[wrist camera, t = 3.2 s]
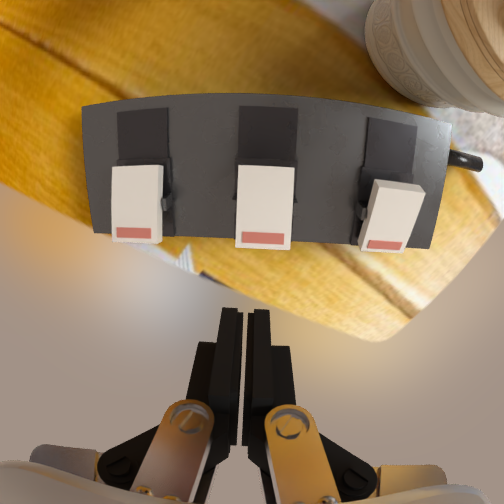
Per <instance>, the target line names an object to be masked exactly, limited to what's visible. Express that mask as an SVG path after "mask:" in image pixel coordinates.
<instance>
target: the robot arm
mask: <svg viewBox="0 0 504 504" xmlns="http://www.w3.org/2000/svg"><path fill="white" fill-rule="evenodd" d="M242 332H243V312H241V313H240V312H238V310H237V308H225V307H223V308H222V313H221V319H220V325H219V331H218V337H217V343H213V342H199V343H198V347H197V351H196V355H195V360H194V364H193V369H192V373H191V377H190V382H189V387H188V391H187V396H186V400H180V401H178V402H175V403H174V404H172V405H171V406H170V407H169V408H168V409H167V411H166V412H165V414H164V417H163V419H162V421H161V423H160V424H159V425H158V426H156V427H154V428H152V429H150V430H148V431H146V432H144V433H142V434H140V435H138V436H136V437H134V438H132V439H130V440H128V441H126V442H124V443H122V444H120V445H118V446H116V447H114V448H112V449H109V450H108V451H106V452H105V453H101V452H97V451H96V450H92V449H80V448H71V447H63V446H56V445H48V444H44V445H40V446H37V447H36V448H35V449H34V450H33V451H32V453H31V456H30V460H29V462H28V461H20V460H17V461H16V460H15V461H14V460H10V461H2V462H0V504H207V503H208V500H209V497H210V493H211V490H212V487H213V483H214V480H215V476H216V473H217V469H218V464H219V463H220V462H222V461H223V460H225V459H226V458H228V455H229V453H230V445H237V428H238V413H239V396H240V379H241V358H242ZM244 388H245V389H244V408H243V429H242V446H248V458H249V459H250V460H251V461H252V462H253V463H255V464H256V465H257V466H258V474H259V479H260V485H261V490H262V496H263V501H264V504H491V503H490V501H489V499H488V498H487V496H486V495H485V494H484V493H483V492H482V491H481V490H479V489H477V488H474V487H472V486H467V485H459V484H447V478H446V475H445V472H444V471H443V470H442V469H441V468H440V467H438V466H436V465H381V466H380V467H371V466H370V465H369V464H368V463H366V462H364V461H362V460H361V459H359V458H358V457H356V456H354V455H353V454H351V453H350V452H348V451H346V450H345V449H343V448H342V447H340V446H339V445H337V444H336V443H334V442H332V441H331V440H329V439H328V438H326V437H325V436H323V435H322V434H320V433H319V432H318V430H317V426H316V424H315V421H314V418H313V417H312V415H311V414H310V413H309V412H308V411H307V410H306V409H304V408H302V407H300V406H296V400H295V390H294V381H293V373H292V363H291V354H290V347H289V346H271V333H270V312H269V310H264V309H263V310H262V309H254V313H248V325H247V347H246V366H245V387H244Z"/></svg>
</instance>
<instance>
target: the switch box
mask: <svg viewBox="0 0 504 504" xmlns="http://www.w3.org/2000/svg"><path fill="white" fill-rule="evenodd" d="M82 132H83V149H84V161H85V172H86V181H87V190H88V198H89V205H90V212H91V218H92V224H93V230H94V233H108V234H112V215H111V196H112V167H118V166H139V165H162V166H163V196H162V204H163V208H162V236H170V237H174V236H192V237H216V238H234V239H236V215H237V189H238V165H253V166H275V167H291V168H294V190H293V210H292V227H291V241H301V242H320V243H338V244H351V245H358V238H359V235H360V232H361V228H362V225H363V221H364V220H365V214H366V209H367V206H368V203H369V199H370V195H371V191H372V187H373V183H374V179H379V180H386V181H394V182H401V183H408V184H415V185H420V186H421V188H422V189H423V190H424V192H425V193H426V194H425V197H424V199H423V202H422V205H421V208H420V211H419V213H418V216H417V219H416V222H415V224H414V227H413V229H412V232H411V234H410V237H409V239H408V242H407V244H406V248H421V249H429V248H430V244H431V240H432V236H433V232H434V228H435V224H436V220H437V216H438V211H439V207H440V202H441V197H442V192H443V187H444V181H445V176H446V170H447V165H451V166H455V167H459V168H464V169H468V170H472V171H476V172H480V171H481V170H482V168H483V161H482V159H481V158H480V157H477V156H474V155H470V154H466V153H463V152H459V151H455V150H451V149H450V141H451V133H452V124H450V123H446V122H443V121H439V120H435V119H432V118H428V117H424V116H420V115H415V114H411V113H407V112H402V111H398V110H393V109H388V108H383V107H377V106H372V105H366V104H360V103H353V102H347V101H339V100H332V99H323V98H314V97H304V96H292V95H276V94H253V93H205V94H182V95H167V96H155V97H145V98H135V99H127V100H120V101H113V102H106V103H100V104H94V105H88V106H83V107H82ZM358 246H359V245H358Z"/></svg>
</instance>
